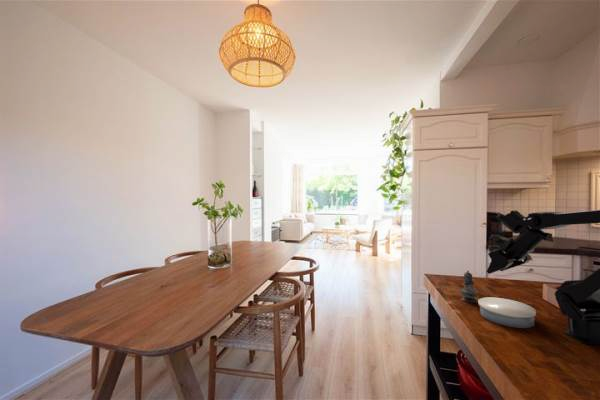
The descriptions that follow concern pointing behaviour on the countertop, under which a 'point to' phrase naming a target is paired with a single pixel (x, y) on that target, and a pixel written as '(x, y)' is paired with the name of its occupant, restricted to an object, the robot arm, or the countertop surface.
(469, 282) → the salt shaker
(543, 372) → the countertop surface
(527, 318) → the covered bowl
